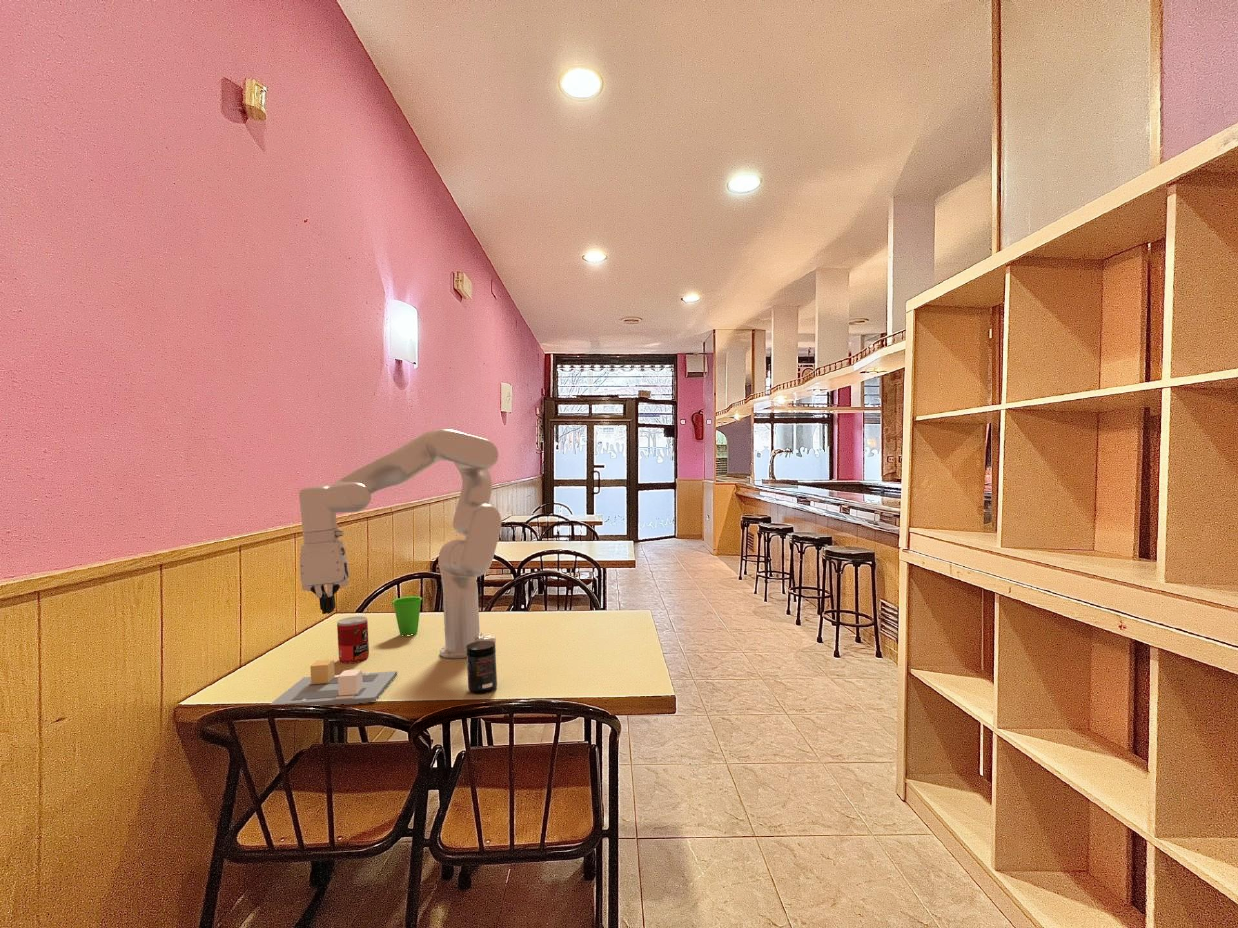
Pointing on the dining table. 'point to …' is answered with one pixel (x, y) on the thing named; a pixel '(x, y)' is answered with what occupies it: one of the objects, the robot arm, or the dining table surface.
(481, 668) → the supplement container
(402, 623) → the cup
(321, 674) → the orange cube
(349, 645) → the canned food
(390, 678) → the switch board
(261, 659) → the dining table surface
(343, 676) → the pale pink cube
